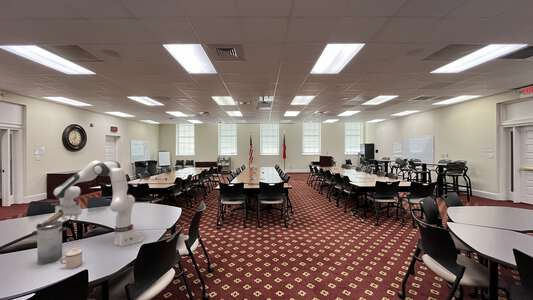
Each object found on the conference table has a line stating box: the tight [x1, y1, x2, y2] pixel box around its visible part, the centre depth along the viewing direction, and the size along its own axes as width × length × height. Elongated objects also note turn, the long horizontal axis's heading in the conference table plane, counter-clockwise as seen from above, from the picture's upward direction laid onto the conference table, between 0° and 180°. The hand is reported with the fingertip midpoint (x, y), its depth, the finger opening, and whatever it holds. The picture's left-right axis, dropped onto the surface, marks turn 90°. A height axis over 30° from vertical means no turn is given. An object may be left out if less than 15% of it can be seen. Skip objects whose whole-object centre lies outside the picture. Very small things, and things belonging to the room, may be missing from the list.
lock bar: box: [44, 210, 63, 226], centre depth 175 cm, size 3×28×5 cm, turn 27°
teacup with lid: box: [59, 247, 83, 269], centre depth 158 cm, size 12×9×12 cm
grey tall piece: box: [31, 219, 67, 266], centre depth 166 cm, size 18×14×28 cm
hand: (70, 220), depth 196 cm, fingers open, 8 cm apart
